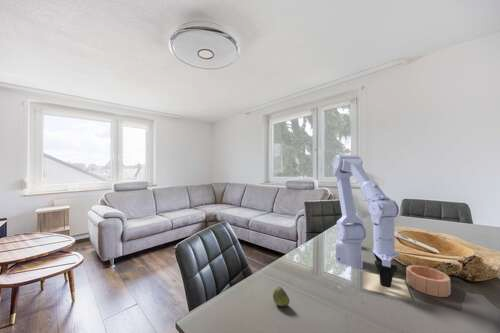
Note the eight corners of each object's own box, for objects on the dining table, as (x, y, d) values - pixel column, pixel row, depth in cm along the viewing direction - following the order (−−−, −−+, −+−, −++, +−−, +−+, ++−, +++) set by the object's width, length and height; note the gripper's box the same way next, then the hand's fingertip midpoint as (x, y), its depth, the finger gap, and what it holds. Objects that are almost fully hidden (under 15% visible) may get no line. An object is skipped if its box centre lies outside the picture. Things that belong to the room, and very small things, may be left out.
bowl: (410, 292, 62) (410, 276, 62) (404, 277, 71) (404, 262, 71) (456, 302, 57) (455, 284, 57) (443, 285, 66) (442, 269, 66)
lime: (274, 298, 59) (274, 281, 59) (291, 302, 57) (291, 284, 58) (270, 308, 55) (270, 289, 55) (288, 312, 53) (288, 293, 53)
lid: (363, 290, 62) (362, 275, 62) (362, 273, 73) (362, 260, 73) (412, 302, 57) (412, 285, 57) (404, 281, 67) (404, 267, 67)
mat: (359, 292, 62) (359, 291, 62) (359, 272, 74) (359, 271, 74) (417, 307, 55) (417, 305, 55) (407, 282, 67) (407, 281, 67)
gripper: (403, 246, 57) (404, 296, 56) (395, 233, 69) (396, 273, 69) (373, 242, 60) (374, 289, 60) (371, 230, 73) (372, 268, 73)
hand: (384, 280), depth 65 cm, fingers open, 7 cm apart
